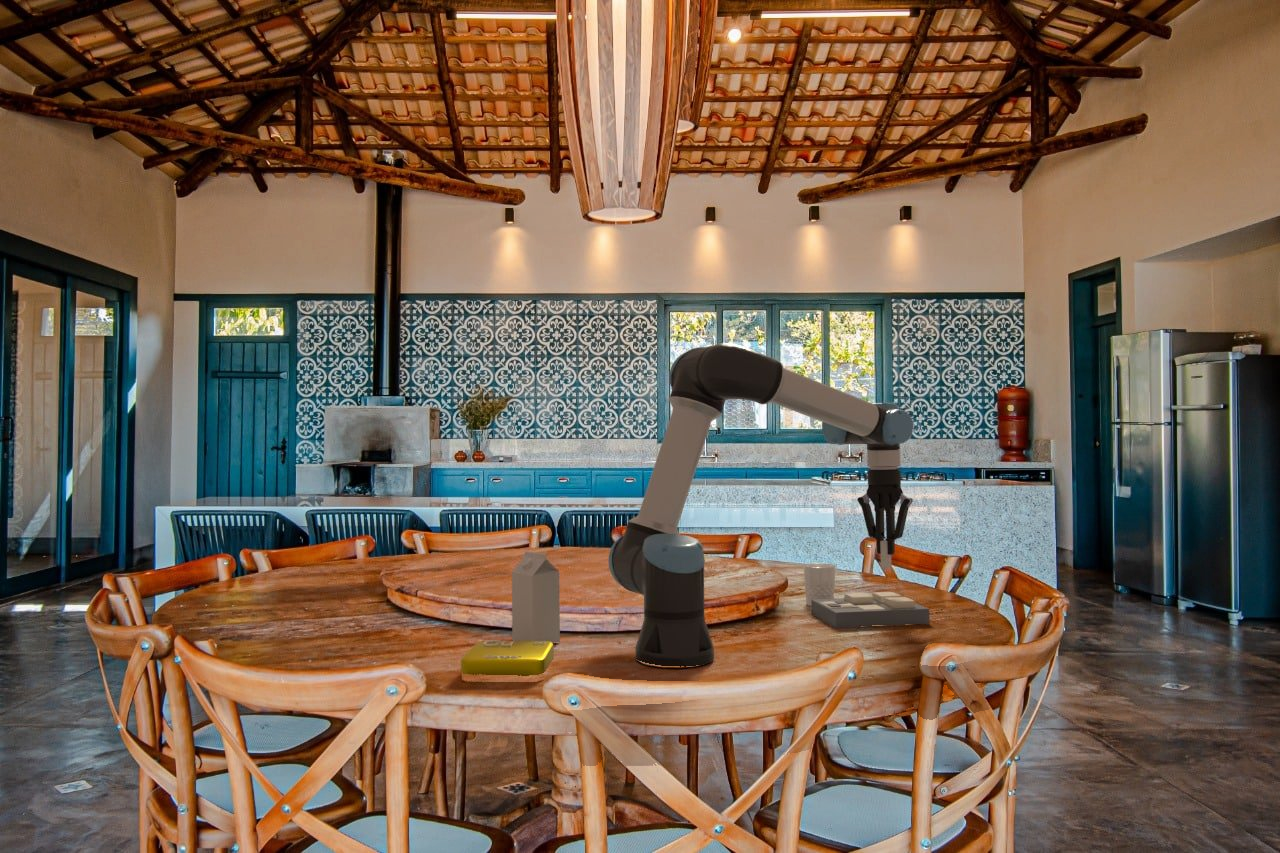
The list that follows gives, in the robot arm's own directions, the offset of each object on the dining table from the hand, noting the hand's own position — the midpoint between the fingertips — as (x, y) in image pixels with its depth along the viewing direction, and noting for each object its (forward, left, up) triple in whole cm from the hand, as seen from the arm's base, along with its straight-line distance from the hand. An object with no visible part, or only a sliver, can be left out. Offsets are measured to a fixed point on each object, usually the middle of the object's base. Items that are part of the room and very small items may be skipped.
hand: (886, 568), depth 209 cm
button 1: (-7, +1, -9) cm, 11 cm away
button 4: (0, -6, -9) cm, 11 cm away
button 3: (0, +1, -9) cm, 9 cm away
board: (-6, -3, -11) cm, 13 cm away
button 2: (-7, -6, -10) cm, 14 cm away
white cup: (-11, +16, -12) cm, 23 cm away
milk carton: (-83, -13, -12) cm, 84 cm away
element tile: (-88, -34, -12) cm, 95 cm away
